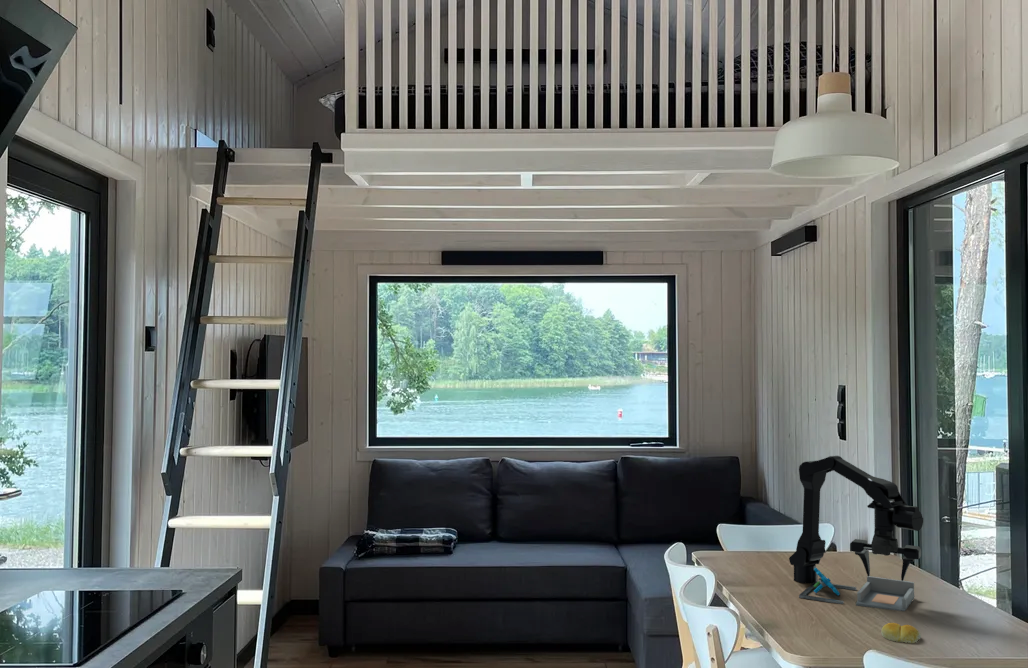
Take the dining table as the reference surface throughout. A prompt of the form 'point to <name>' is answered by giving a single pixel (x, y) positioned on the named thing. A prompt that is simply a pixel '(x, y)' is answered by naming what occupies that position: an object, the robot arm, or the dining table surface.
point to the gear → (824, 582)
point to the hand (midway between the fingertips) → (885, 578)
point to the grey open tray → (886, 594)
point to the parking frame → (805, 596)
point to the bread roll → (900, 633)
